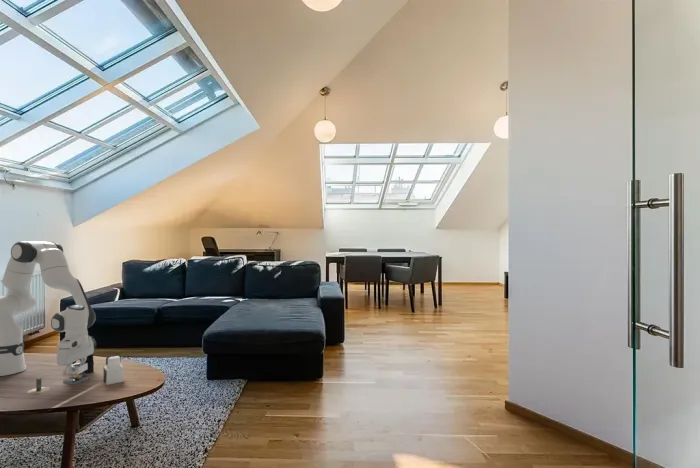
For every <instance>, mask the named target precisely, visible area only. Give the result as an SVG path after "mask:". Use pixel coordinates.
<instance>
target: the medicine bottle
mask: <svg viewBox="0 0 700 468" xmlns="http://www.w3.org/2000/svg"><path fill="white" fill-rule="evenodd" d="M103 382H104V385H106V386H109V385H114V384H119V383H123V382H124V366H123V364H122V356H121V355H118V354H114V355H113V354H112V355H109V356H107V357H106V358H105V365H104V366H103Z"/></svg>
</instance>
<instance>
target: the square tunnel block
mask: <svg viewBox="0 0 700 468" xmlns="http://www.w3.org/2000/svg"><path fill="white" fill-rule="evenodd" d="M72 368H74V371H73V372H71V373H69V372H68V368H67V367H66V366H65V374H66V375H67V374H70V375H71V374H73V375H74V374H81V373H83V371H85V370H87V369H88V363H80V362H76V363H74V364H72Z"/></svg>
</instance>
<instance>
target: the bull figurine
mask: <svg viewBox="0 0 700 468" xmlns="http://www.w3.org/2000/svg"><path fill="white" fill-rule="evenodd" d="M91 337H92V340H93V345H94V351H95V350H96V349H97V341H96V340H95V338H94V336H93V335H92V336H91ZM79 362H81V359H80V360H79ZM74 363H77V361H75V362H73V363H72V364H74ZM85 363H88V369H87V370H85V371H83V372H82V374H90V373H93V372H94V366H95V365H94V364H95V361H94V353H93V354H91V355H89V356H87V359H86V361H85Z"/></svg>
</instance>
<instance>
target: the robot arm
mask: <svg viewBox="0 0 700 468" xmlns="http://www.w3.org/2000/svg"><path fill="white" fill-rule="evenodd" d="M36 264H39V267H40V268H39V269H40V273H41V274H40V275H41V278H42V281H43V282H44V284H45V285H46V286H48V287H50V288H52V289H55V290H61V291H65V292H66V293H69V294H70V295H71V296H72V298H73V300H74V303H75V304H72V305H68V306H67V307H66V308H65V310H62V311H59V312H56V313H55V314H54V315H52V318H50V319H51V320H50V321H51V322H50V326H51V328H52V330H53V331H55V332H57V333H64V332H65V334H64V338H62V340H60V341H59V342H58V343H57V344H56V349H57V351H56V364H57V365H58V366H59V367H60V366H61V367H63V366H64V367H65V368H66V367H67V368H68V372H69V373H71V372H73V371H74V368H72V363H73V362H75V361H76V362H77V361H79V363H85V361H86V359H87V356H89V355H91V354H93V355H94V352H95V350H94V345H93V340H92V336H90V335H89V331H88V329H89V328H91V327H92V326H93V325H94V323H95V322H96V319H97V315H96V312H95V311H94V309H93V307H92V306H91V304H90V302H89V299H88V297H87V295H86V292H85V289H84V287H83V285H82V282H80V280H79V279H78V278H76V277H75V276H74V275H73V274H72V273H71V271H70V268H69V265H68V261H67V259H66V256H65V254H64V249H63V246H62V245H61V244H60V243H57V242H54V241H45V240H32V241H31V240H29V241H27V240H23V241H17V242H15V243H14V244H13V245H12V247H11V248H10V258H9V260H8V262H7V264H6V268H5V271H4V274H3V278H2V280H1V283H2V285H3V286H4V287H5V288H7V293H6V295H0V377H4V376H9V375H14V374H17V373H21V372H24V371H26V370H27V365H26V362H25V361H26V360H25V354H24V349H25V343H24V341H23V340H24V338H23V336H24V335H23V333H24V331H23V330H24V329H23V327H22V325H20V324H18V323H16V321H15V318H14V316H20V315H23V314H25V313H28V312H30V311H33V309H34V308H35V306H36V297H34V295H32V294H31V289H30V285H31V282H32V277H33V274H34V272H35V267H36ZM80 359H81V361H80Z"/></svg>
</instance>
